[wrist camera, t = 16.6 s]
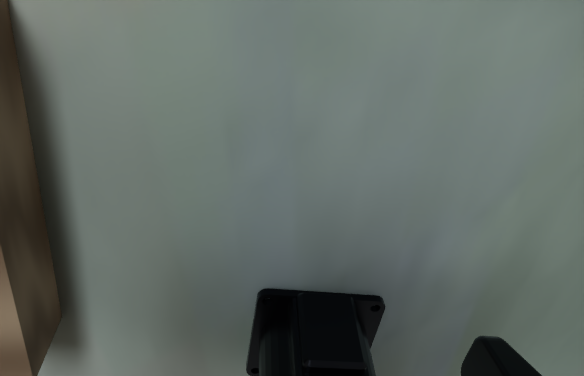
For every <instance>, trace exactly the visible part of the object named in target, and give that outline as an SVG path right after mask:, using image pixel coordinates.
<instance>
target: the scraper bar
mask: <svg viewBox="0 0 584 376" xmlns="http://www.w3.org/2000/svg"><path fill="white" fill-rule="evenodd" d="M61 318H62V314H61V308H60V303H59V297H58V291H57V285H56V279H55V274H54V268H53V262H52V256H51V251H50V245H49V239H48V233H47V227H46V222H45V216H44V210H43V204H42V199H41V193H40V187H39V181H38V175H37V170H36V164H35V158H34V152H33V147H32V141H31V135H30V129H29V123H28V118H27V112H26V106H25V100H24V94H23V89H22V83H21V77H20V71H19V66H18V60H17V54H16V48H15V42H14V37H13V31H12V25H11V19H10V14H9V8H8V2H7V0H0V376H37V375H38V372H39V370H40V368H41V365H42V363H43V361H44V358H45V356H46V353H47V351H48V349H49V346H50V344H51V342H52V339H53V337H54V334H55V332H56V330H57V327H58V325H59V322H60V320H61Z"/></svg>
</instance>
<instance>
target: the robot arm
mask: <svg viewBox="0 0 584 376" xmlns="http://www.w3.org/2000/svg"><path fill="white" fill-rule="evenodd" d="M265 298H270V299H265ZM373 305H375V306H373ZM384 310H385V304H384V300H383V299H382V298H381V297H380V296H375V295H360V294H345V293H329V292H314V291H298V290H283V289H263V290H261V291H260V292H258V295H257V300H256V307H255V313H254V320H253V326H252V332H251V339H250V345H249V352H248V358H247V365H246V371H247V373H248V375H250V376H376V374H375V370H374V365H373V361H372V356H371V352H370V348H371V346H372V343H373V340H374V337H375V335H376V332H377V329H378V326H379V324H380V321H381V318H382V315H383V313H384ZM461 376H542V375H541V374H540V373H539V372H538V371H537V370H535V369H534V368H533V367H532V366H531V365H530V364H529V363H528V362H527V361H526V360H525V359H524V358H523V357H522V356H521V355H519V354H518V353H517V352H516V351H515V350H514V349H513V348H512V347H511V346H510V345H509V344H508V343H507V342H506V341H504V340H503V339H501V338H499V337H492V336H479V337H477V338H476V339H475V340H474V342H473V344H472V346H471V348H470V350H469V352H468V353H467V355H466V357H465V359H464V361H463V363H462V367H461Z"/></svg>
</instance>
